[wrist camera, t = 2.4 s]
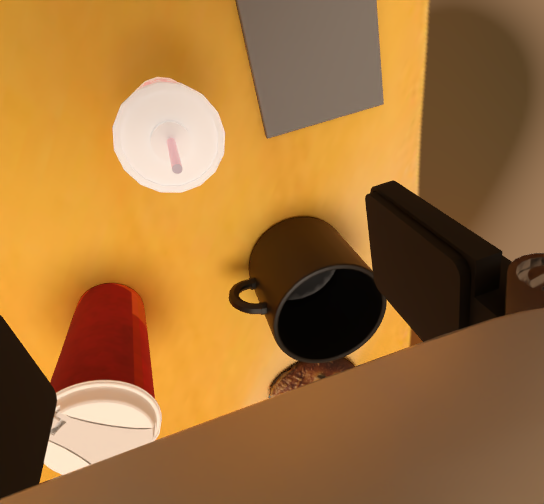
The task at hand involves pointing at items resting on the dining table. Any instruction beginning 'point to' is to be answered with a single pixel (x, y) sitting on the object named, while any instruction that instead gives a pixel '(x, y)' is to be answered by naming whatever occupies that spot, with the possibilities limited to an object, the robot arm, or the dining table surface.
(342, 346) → the mug
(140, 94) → the beverage cup
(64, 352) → the paper cup
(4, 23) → the dining table surface
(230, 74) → the dining table surface
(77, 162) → the dining table surface
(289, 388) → the bread roll
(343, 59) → the plain gray mat
